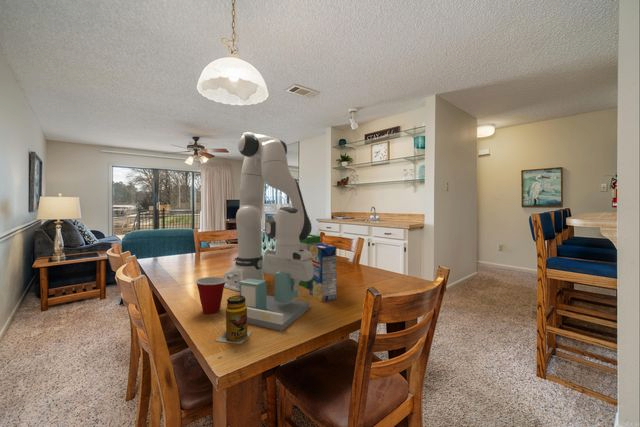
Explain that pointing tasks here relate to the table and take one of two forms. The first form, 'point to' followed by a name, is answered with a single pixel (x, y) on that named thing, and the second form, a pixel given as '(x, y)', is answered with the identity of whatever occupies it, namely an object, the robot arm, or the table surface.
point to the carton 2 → (284, 288)
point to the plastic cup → (211, 293)
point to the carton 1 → (253, 293)
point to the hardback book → (306, 245)
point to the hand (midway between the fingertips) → (286, 289)
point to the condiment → (235, 321)
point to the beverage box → (323, 271)
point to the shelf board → (276, 313)
